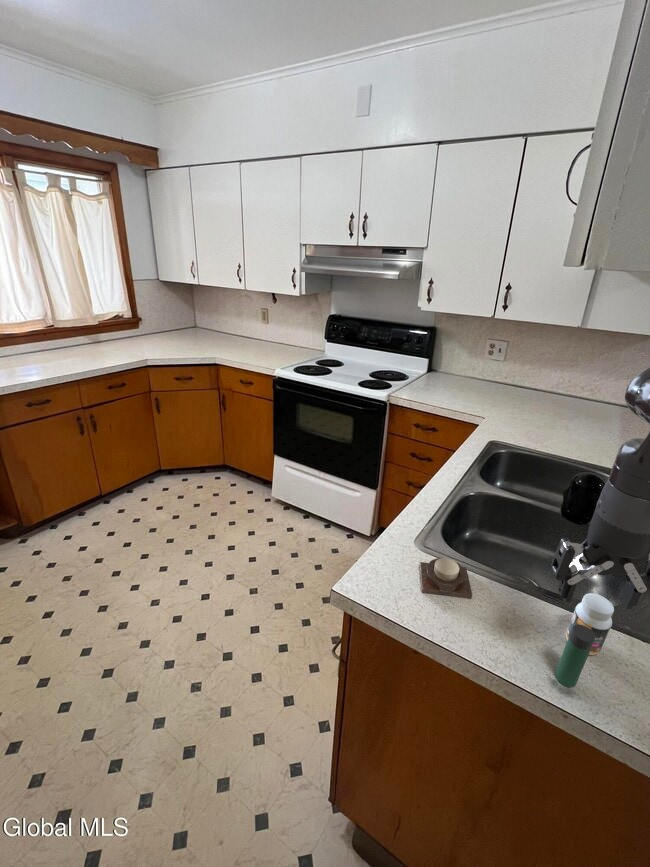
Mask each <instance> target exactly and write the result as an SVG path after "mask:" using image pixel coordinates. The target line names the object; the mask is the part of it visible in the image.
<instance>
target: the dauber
mask: <svg viewBox="0 0 650 867" xmlns="http://www.w3.org/2000/svg"><path fill="white" fill-rule="evenodd" d="M594 641H595V634H594V633H593V632H592V630H590V629H589V628H588V627H586V626H583V625H574V626H573V628H572V630H571V633H570V636H569V638H568V641H567V640H566V644H565V646H564V649H563V652H562V654H561V657H560V660H559V662H558V665H557V667H556V670H555V672H554V676H555V679H556V680H557V682H558V683H559V684H561V685H562V686H564V687H566V688H574V687H575V686H577V683H578V681H579V679H580V676H581V674H582V671H583V669H584V666H585V664H586V662H587V659H588V657H589V656H590V655H589V652H590V650H591V648H592V645H593V643H594Z"/></svg>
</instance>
